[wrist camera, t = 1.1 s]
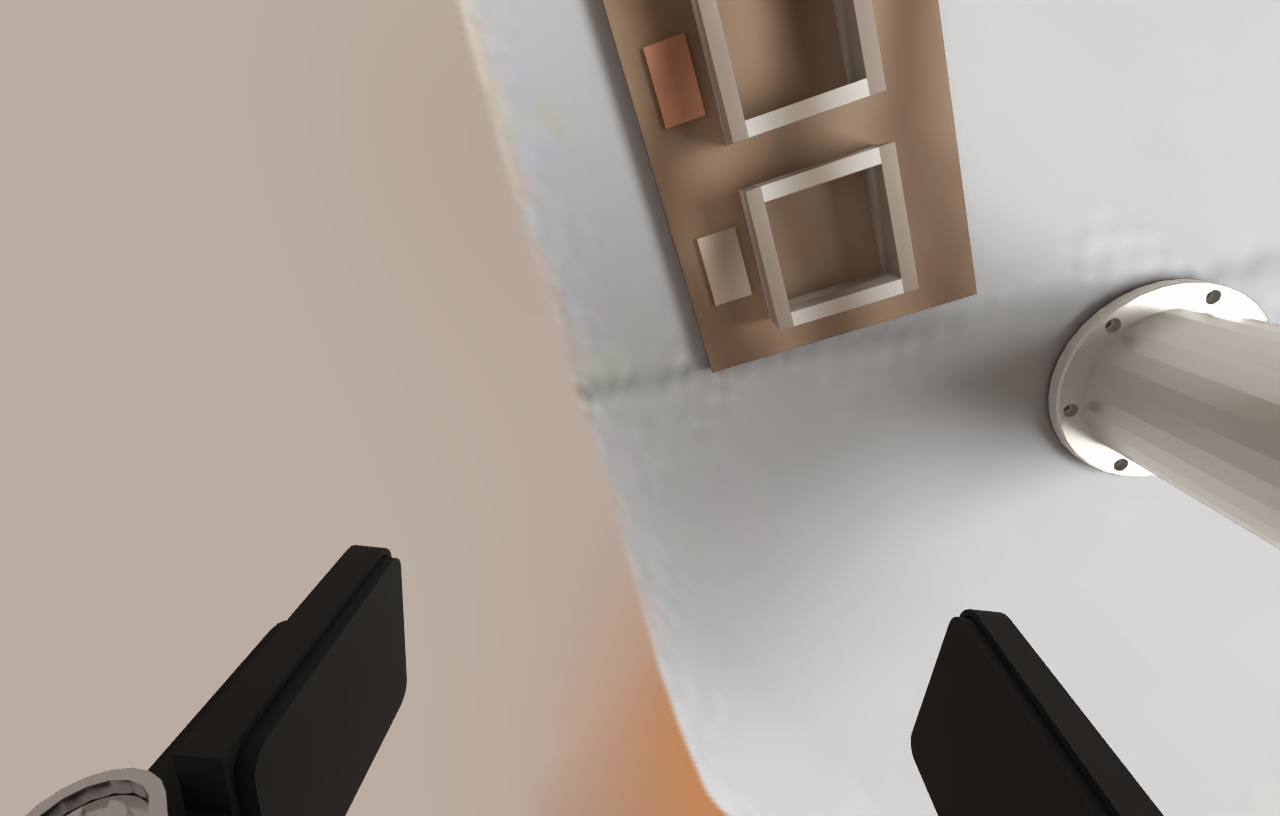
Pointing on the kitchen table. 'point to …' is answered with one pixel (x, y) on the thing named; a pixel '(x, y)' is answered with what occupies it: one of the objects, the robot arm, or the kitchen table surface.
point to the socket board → (799, 162)
